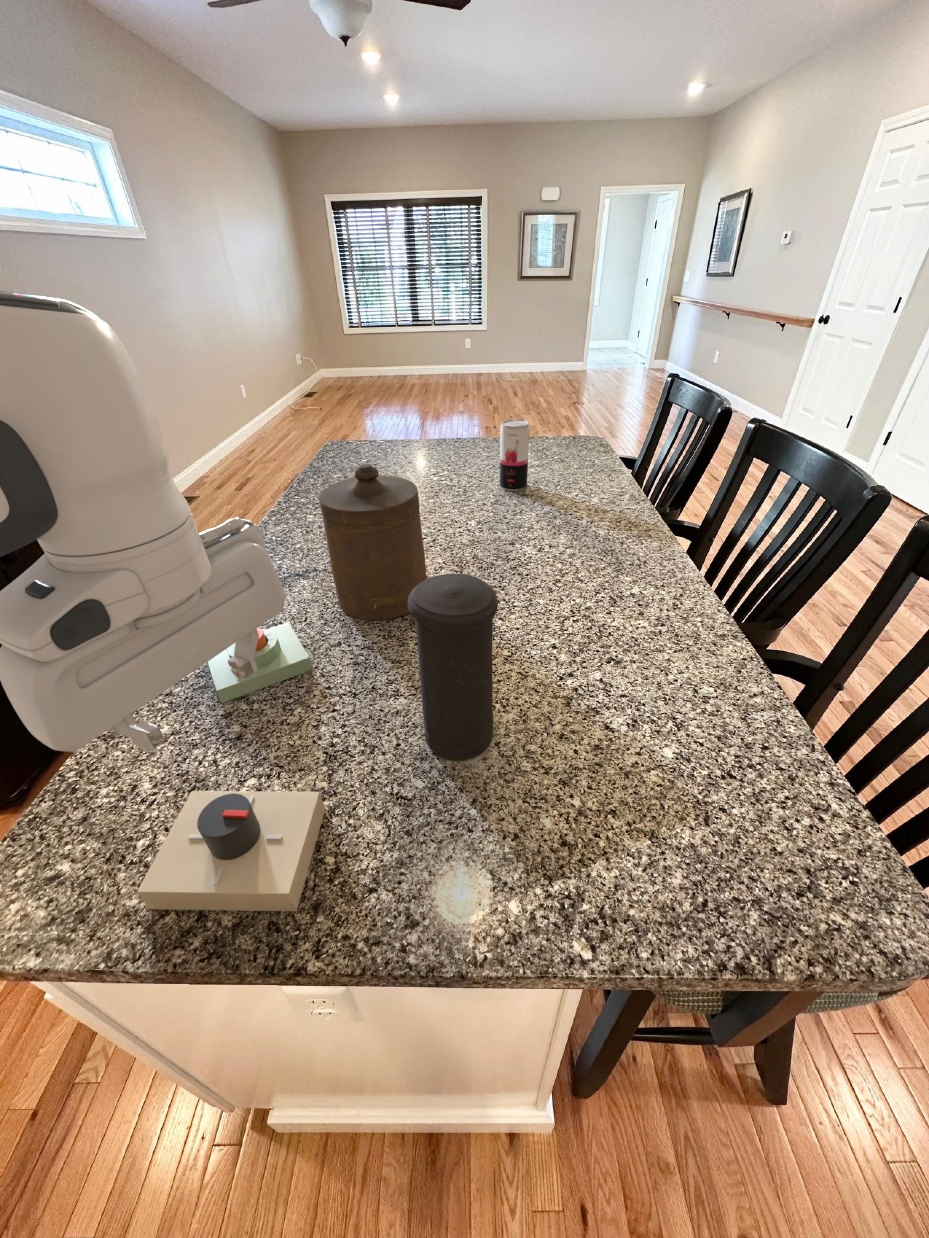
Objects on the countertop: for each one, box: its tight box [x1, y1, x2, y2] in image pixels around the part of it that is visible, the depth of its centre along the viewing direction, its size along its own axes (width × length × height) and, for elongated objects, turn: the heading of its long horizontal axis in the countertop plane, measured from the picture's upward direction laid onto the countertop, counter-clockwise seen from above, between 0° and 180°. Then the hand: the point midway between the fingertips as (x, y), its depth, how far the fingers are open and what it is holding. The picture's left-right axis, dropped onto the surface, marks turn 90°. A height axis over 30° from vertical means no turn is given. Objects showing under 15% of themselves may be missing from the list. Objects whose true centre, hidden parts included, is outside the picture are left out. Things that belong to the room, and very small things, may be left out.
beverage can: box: [499, 418, 530, 492], centre depth 121 cm, size 6×6×15 cm
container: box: [408, 573, 499, 762], centre depth 55 cm, size 9×9×20 cm
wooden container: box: [318, 463, 428, 621], centre depth 79 cm, size 15×15×22 cm
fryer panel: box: [136, 790, 326, 912], centre depth 48 cm, size 13×10×3 cm
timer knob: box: [197, 793, 260, 860], centre depth 46 cm, size 4×4×4 cm
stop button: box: [256, 627, 267, 651], centre depth 69 cm, size 4×4×2 cm
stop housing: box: [206, 621, 313, 704], centre depth 71 cm, size 12×10×4 cm
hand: (202, 706), depth 44 cm, fingers open, 8 cm apart
